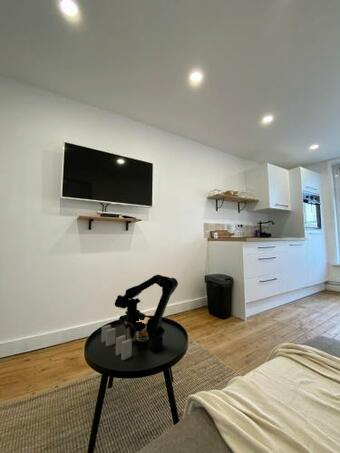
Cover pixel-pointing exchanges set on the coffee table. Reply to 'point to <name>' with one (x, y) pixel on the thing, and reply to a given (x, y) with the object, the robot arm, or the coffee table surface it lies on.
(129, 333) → the domino
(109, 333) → the domino
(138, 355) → the coffee table surface
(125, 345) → the domino
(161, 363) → the coffee table surface
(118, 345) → the domino
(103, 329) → the domino
